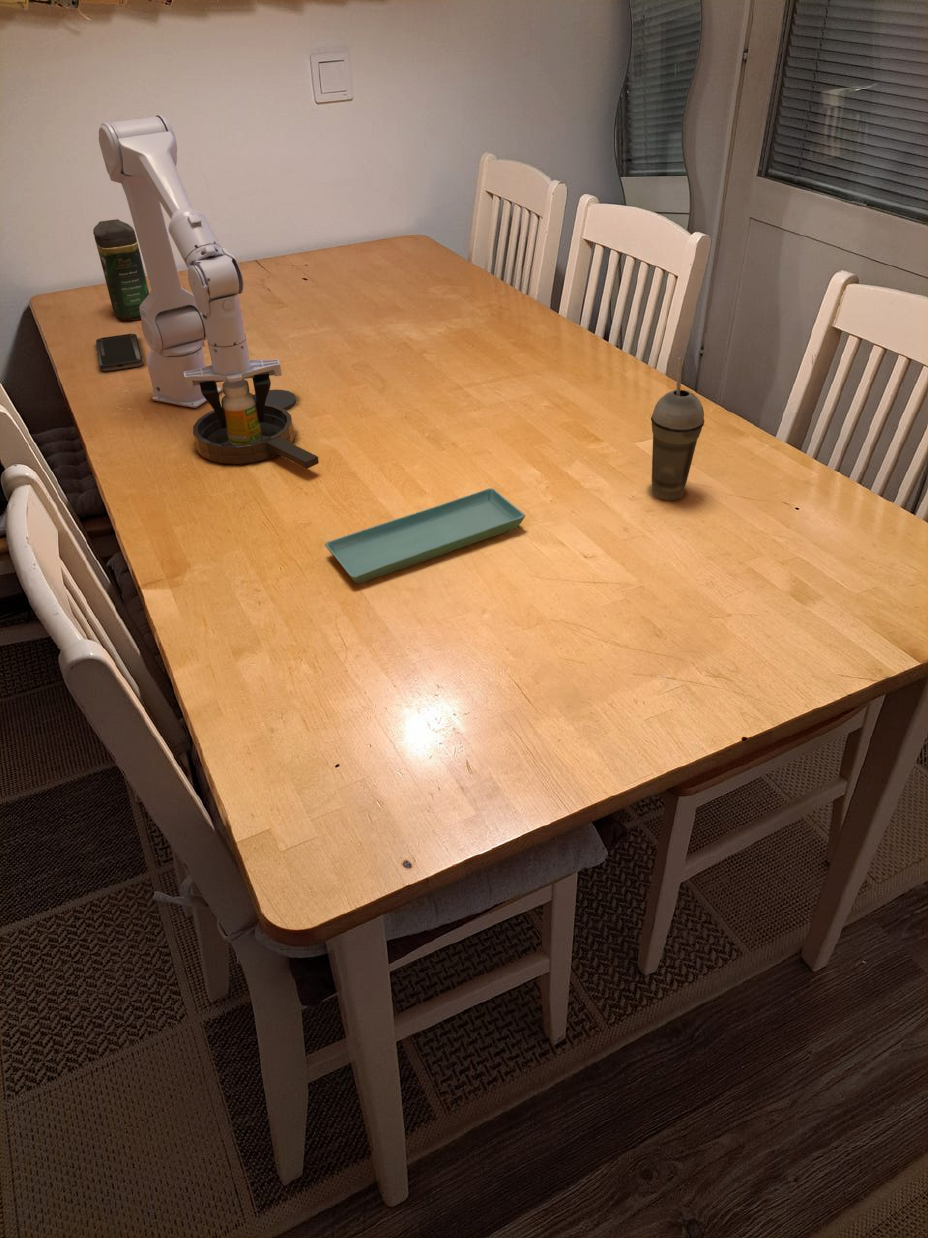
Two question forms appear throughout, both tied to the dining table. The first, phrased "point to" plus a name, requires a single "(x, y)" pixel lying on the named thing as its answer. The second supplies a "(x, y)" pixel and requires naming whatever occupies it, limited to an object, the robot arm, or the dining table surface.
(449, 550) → the teal serving tray
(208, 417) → the pan
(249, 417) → the supplement bottle
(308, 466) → the pan handle
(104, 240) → the coffee jar
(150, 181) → the robot arm
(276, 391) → the coaster
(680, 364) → the beverage cup
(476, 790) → the dining table surface
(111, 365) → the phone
